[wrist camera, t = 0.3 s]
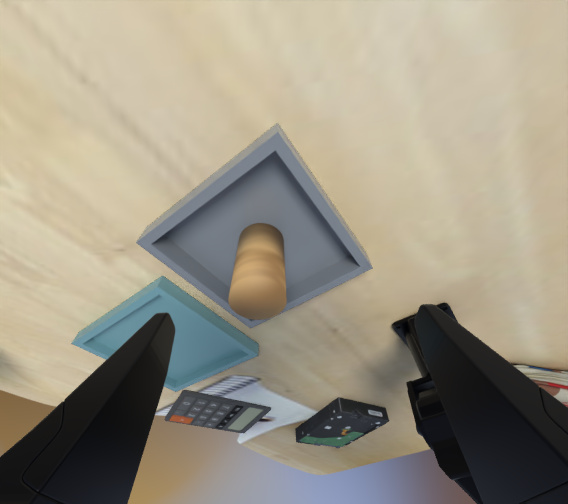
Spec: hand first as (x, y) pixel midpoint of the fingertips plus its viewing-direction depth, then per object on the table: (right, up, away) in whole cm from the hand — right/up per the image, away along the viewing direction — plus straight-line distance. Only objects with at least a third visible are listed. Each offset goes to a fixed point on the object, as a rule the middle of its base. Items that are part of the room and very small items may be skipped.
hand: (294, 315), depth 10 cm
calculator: (-12, -25, +37) cm, 47 cm away
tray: (-14, -8, +23) cm, 29 cm away
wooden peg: (-2, +3, +14) cm, 15 cm away
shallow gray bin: (-2, +3, +15) cm, 15 cm away
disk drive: (+10, -28, +41) cm, 50 cm away
